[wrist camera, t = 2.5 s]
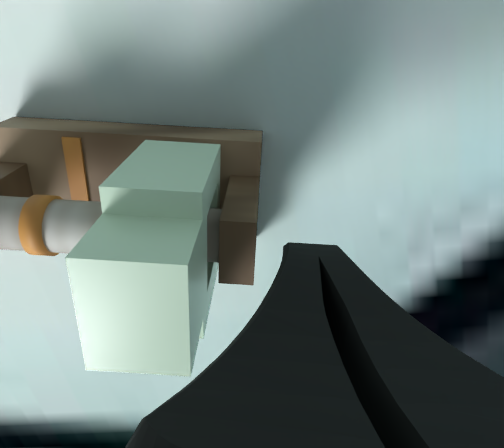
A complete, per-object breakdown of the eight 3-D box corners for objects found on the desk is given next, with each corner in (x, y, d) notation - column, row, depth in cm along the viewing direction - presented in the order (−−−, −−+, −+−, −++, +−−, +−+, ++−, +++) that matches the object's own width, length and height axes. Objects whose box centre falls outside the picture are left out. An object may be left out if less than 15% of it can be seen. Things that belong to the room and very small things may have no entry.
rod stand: (262, 130, 15) (259, 180, 10) (256, 237, 17) (251, 318, 12) (14, 116, 15) (-95, 159, 10) (37, 224, 17) (-47, 299, 12)
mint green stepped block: (220, 144, 13) (186, 233, 8) (219, 262, 15) (191, 398, 10) (145, 139, 13) (59, 225, 8) (153, 258, 15) (90, 391, 10)
